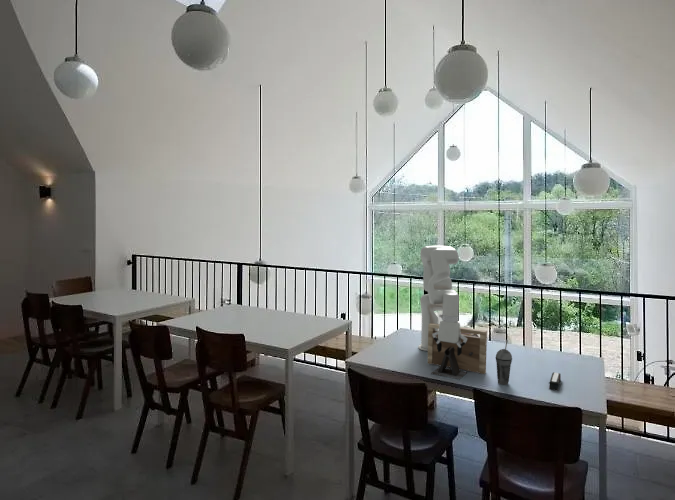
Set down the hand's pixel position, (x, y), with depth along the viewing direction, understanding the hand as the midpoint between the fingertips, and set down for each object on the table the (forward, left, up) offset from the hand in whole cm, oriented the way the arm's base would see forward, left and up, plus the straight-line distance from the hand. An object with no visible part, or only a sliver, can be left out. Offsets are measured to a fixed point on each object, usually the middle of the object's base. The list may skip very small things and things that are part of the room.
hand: (449, 353), depth 220 cm
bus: (-14, +46, -11) cm, 50 cm away
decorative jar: (-22, 0, -10) cm, 24 cm away
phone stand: (0, 0, -10) cm, 10 cm away
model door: (-3, 0, -10) cm, 10 cm away
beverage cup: (-1, +25, -10) cm, 27 cm away
